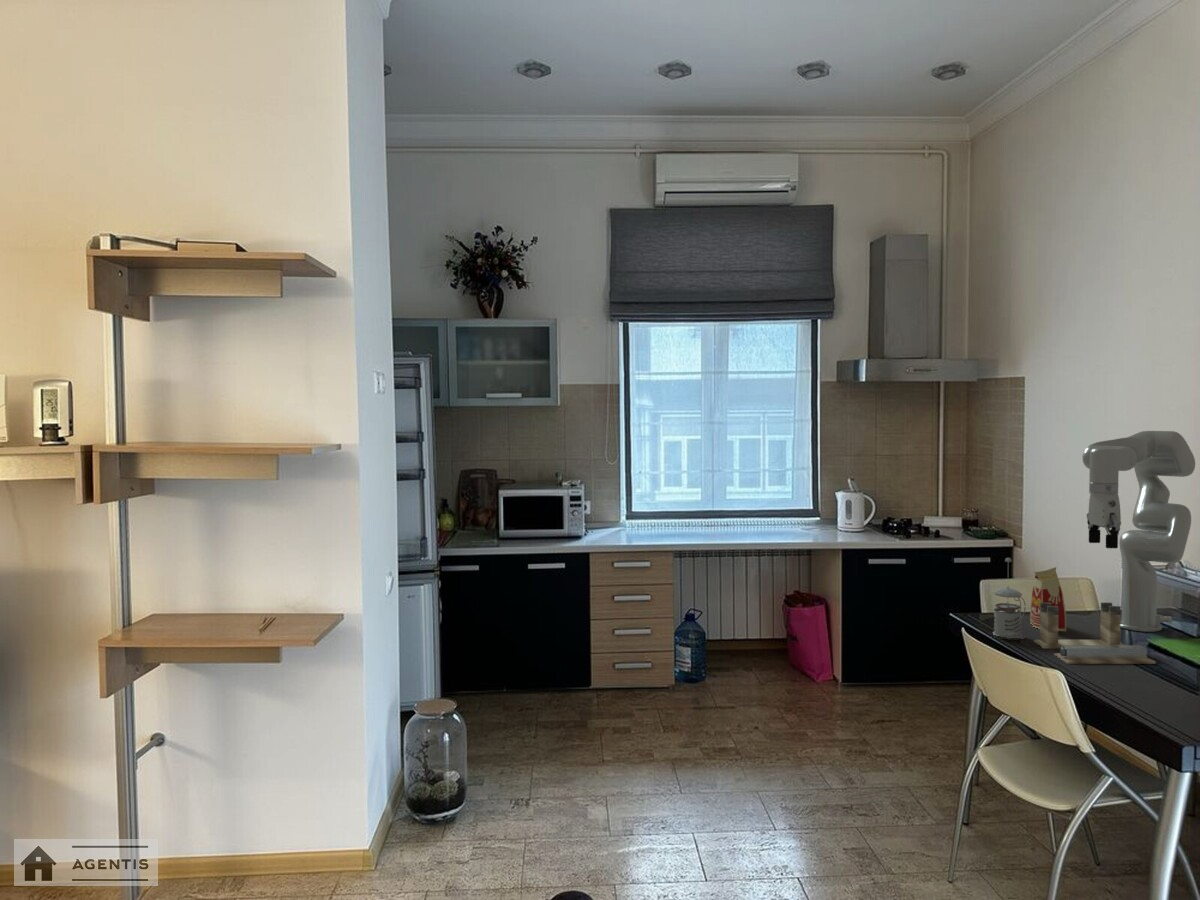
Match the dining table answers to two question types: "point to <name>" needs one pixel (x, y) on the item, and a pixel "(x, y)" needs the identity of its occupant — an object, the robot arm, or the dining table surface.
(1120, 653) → the rail
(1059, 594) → the milk carton
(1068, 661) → the wooden board
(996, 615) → the french press
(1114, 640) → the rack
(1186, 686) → the dining table surface
